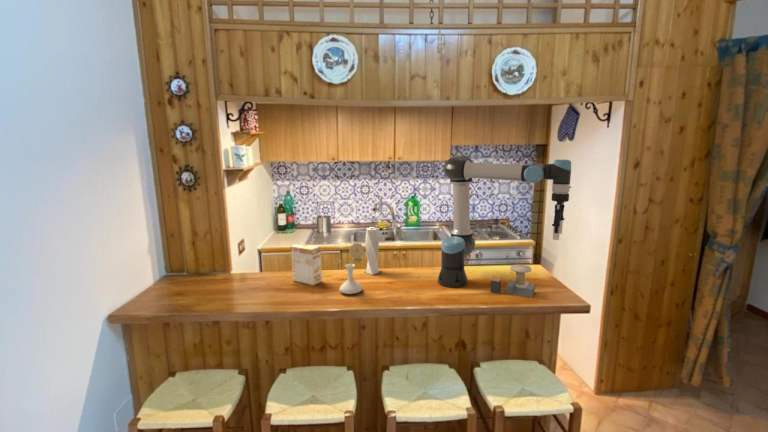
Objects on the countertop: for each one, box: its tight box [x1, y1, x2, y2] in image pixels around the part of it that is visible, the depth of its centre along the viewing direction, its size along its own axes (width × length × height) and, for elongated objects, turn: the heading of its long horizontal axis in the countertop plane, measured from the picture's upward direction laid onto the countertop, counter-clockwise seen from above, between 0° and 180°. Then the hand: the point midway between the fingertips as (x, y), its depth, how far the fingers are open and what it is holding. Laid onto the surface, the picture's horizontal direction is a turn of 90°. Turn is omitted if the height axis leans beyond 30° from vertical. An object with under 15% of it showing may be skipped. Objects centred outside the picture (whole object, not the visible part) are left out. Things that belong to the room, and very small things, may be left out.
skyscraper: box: [363, 224, 382, 276], centre depth 229 cm, size 8×8×28 cm
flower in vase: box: [338, 242, 366, 295], centre depth 202 cm, size 13×11×25 cm
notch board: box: [505, 280, 536, 299], centre depth 199 cm, size 12×8×4 cm, turn 61°
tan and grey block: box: [489, 276, 502, 295], centre depth 201 cm, size 4×4×7 cm
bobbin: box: [509, 264, 532, 290], centre depth 208 cm, size 10×10×10 cm
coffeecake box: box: [290, 242, 323, 286], centre depth 218 cm, size 15×7×20 cm, turn 58°
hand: (557, 236), depth 198 cm, fingers open, 13 cm apart
